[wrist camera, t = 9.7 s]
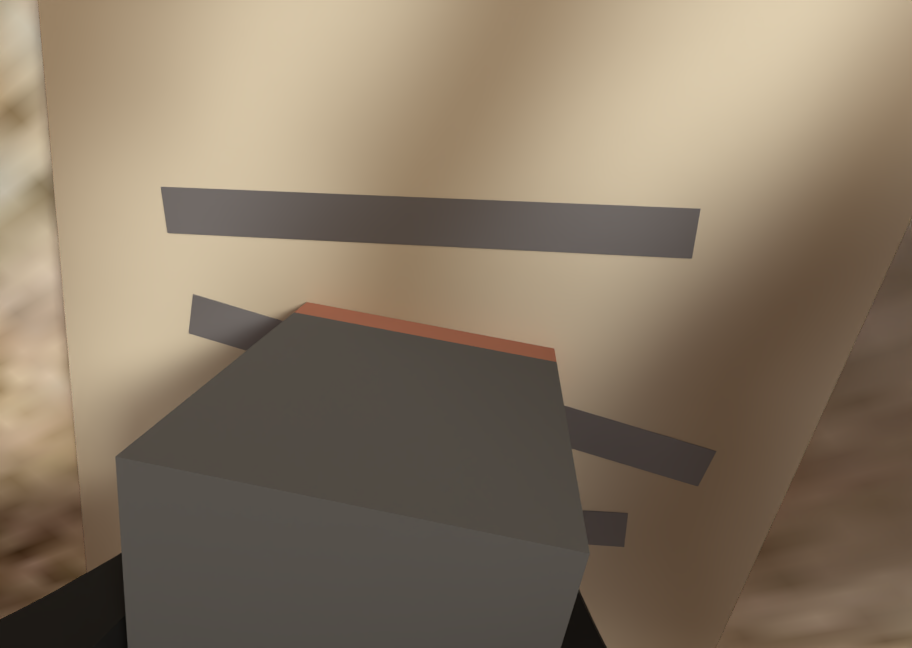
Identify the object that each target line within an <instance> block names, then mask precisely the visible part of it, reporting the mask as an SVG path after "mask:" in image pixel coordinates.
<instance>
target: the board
mask: <svg viewBox="0 0 912 648" xmlns="http://www.w3.org/2000/svg"><path fill="white" fill-rule="evenodd" d="M38 8H39V19H40V31H41V43H42V55H43V66H44V78H45V90H46V101H47V113H48V125H49V137H50V148H51V160H52V172H53V183H54V195H55V207H56V219H57V230H58V242H59V254H60V265H61V277H62V289H63V301H64V312H65V324H66V336H67V347H68V359H69V371H70V383H71V394H72V406H73V418H74V429H75V441H76V453H77V465H78V476H79V488H80V500H81V511H82V523H83V535H84V546H85V558H86V570H87V572H89V571H91V570H93V569H94V568H96V567H98V566H99V565H101V564H103V563H105V562H106V561H108V560H110V559H112V558H113V557H115V556H117V555H118V554H120V553H122V551H121V536H120V521H119V505H118V490H117V475H116V460H115V456H117V455H118V454H119V453H120V452H122V451H123V450H124V449H125V448H127V447H128V446H129V445H130V444H132V443H133V442H134V441H135V440H136V439H138V438H139V437H140V436H141V435H143V434H144V433H145V432H146V431H148V430H149V429H150V428H151V427H153V426H154V425H155V424H156V423H158V422H159V421H160V420H161V419H162V418H164V417H165V416H166V415H167V414H169V413H170V412H171V411H172V410H174V409H175V408H176V407H177V406H179V405H180V404H181V403H182V402H184V401H185V400H186V399H187V398H189V397H190V396H191V395H192V394H193V393H195V392H196V391H197V390H198V389H200V388H201V387H202V386H203V385H205V384H206V383H207V382H208V381H210V380H211V379H212V378H213V377H215V376H216V375H217V374H218V373H220V372H221V371H222V370H223V369H224V368H226V367H227V366H228V365H229V364H231V363H232V362H233V361H234V360H236V359H237V358H238V357H239V356H241V355H242V354H243V353H244V352H246V351H247V350H248V349H249V348H250V347H252V346H253V345H254V344H255V343H257V342H258V341H259V340H260V339H262V338H263V337H264V336H265V335H267V334H268V333H269V332H270V331H272V330H273V329H274V328H275V327H277V326H278V325H279V324H280V323H281V322H283V321H284V320H285V319H286V318H288V317H289V316H290V315H291V314H293V313H294V312H295V311H296V310H298V309H299V308H300V307H301V306H303V305H304V304H305V303H306V302H310V303H315V304H320V305H326V306H331V307H336V308H342V309H347V310H352V311H358V312H363V313H368V314H374V315H379V316H384V317H389V318H395V319H400V320H405V321H411V322H416V323H421V324H427V325H432V326H437V327H443V328H448V329H453V330H458V331H464V332H469V333H474V334H480V335H485V336H490V337H496V338H501V339H506V340H512V341H517V342H522V343H528V344H533V345H538V346H543V347H549V348H554V350H555V356H556V361H557V367H558V373H559V379H560V384H561V390H562V396H563V402H564V407H565V413H566V419H567V425H568V431H569V436H570V442H571V448H572V454H573V459H574V465H575V471H576V477H577V482H578V488H579V494H580V500H581V506H582V511H583V517H584V523H585V529H586V534H587V540H588V546H589V552H590V555H589V558H588V561H587V565H586V568H585V571H584V574H583V577H582V581H581V584H580V587H579V590H580V592H581V595H582V597H583V599H584V601H585V603H586V605H587V608H588V610H589V612H590V614H591V616H592V618H593V620H594V623H595V625H596V627H597V629H598V631H599V633H600V635H601V637H602V639H603V641H604V643H605V645H606V647H607V648H716V646H717V644H718V642H719V640H720V637H721V635H722V633H723V631H724V629H725V626H726V624H727V622H728V620H729V618H730V615H731V613H732V611H733V609H734V607H735V604H736V602H737V600H738V598H739V596H740V594H741V591H742V589H743V587H744V585H745V583H746V580H747V578H748V576H749V574H750V572H751V569H752V567H753V565H754V563H755V561H756V558H757V556H758V554H759V552H760V550H761V547H762V545H763V543H764V541H765V539H766V536H767V534H768V532H769V530H770V528H771V526H772V523H773V521H774V519H775V517H776V515H777V512H778V510H779V508H780V506H781V504H782V501H783V499H784V497H785V495H786V493H787V490H788V488H789V486H790V484H791V482H792V479H793V477H794V475H795V473H796V471H797V468H798V466H799V464H800V462H801V460H802V458H803V455H804V453H805V451H806V449H807V447H808V444H809V442H810V440H811V438H812V436H813V433H814V431H815V429H816V427H817V425H818V422H819V420H820V418H821V416H822V414H823V411H824V409H825V407H826V405H827V403H828V400H829V398H830V396H831V394H832V392H833V390H834V387H835V385H836V383H837V381H838V379H839V376H840V374H841V372H842V370H843V368H844V365H845V363H846V361H847V359H848V357H849V354H850V352H851V350H852V348H853V346H854V343H855V341H856V339H857V337H858V335H859V332H860V330H861V328H862V326H863V324H864V322H865V319H866V317H867V315H868V313H869V311H870V308H871V306H872V304H873V302H874V300H875V297H876V295H877V293H878V291H879V289H880V286H881V284H882V282H883V280H884V278H885V275H886V273H887V271H888V269H889V267H890V264H891V262H892V260H893V258H894V256H895V254H896V251H897V249H898V247H899V245H900V243H901V240H902V238H903V236H904V234H905V232H906V229H907V227H908V225H909V223H910V221H911V218H912V0H38Z"/></svg>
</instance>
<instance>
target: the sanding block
mask: <svg viewBox="0 0 912 648" xmlns="http://www.w3.org/2000/svg"><path fill="white" fill-rule="evenodd" d="M115 460H116V475H117V490H118V505H119V521H120V536H121V551H122V566H123V582H124V597H125V612H126V627H127V643H128V648H561V645H562V642H563V639H564V636H565V632H566V629H567V626H568V623H569V619H570V616H571V613H572V610H573V607H574V603H575V600H576V597H577V594H578V590H579V587H580V584H581V581H582V577H583V574H584V571H585V568H586V565H587V561H588V558H589V555H590V552H589V546H588V540H587V534H586V529H585V523H584V517H583V511H582V506H581V500H580V494H579V488H578V482H577V477H576V471H575V465H574V459H573V454H572V448H571V442H570V436H569V431H568V425H567V419H566V413H565V407H564V402H563V396H562V390H561V384H560V379H559V373H558V367H557V361H556V356H555V350H554V348H549V347H543V346H538V345H533V344H528V343H522V342H517V341H512V340H506V339H501V338H496V337H490V336H485V335H480V334H474V333H469V332H464V331H458V330H453V329H448V328H443V327H437V326H432V325H427V324H421V323H416V322H411V321H405V320H400V319H395V318H389V317H384V316H379V315H374V314H368V313H363V312H358V311H352V310H347V309H342V308H336V307H331V306H326V305H320V304H315V303H310V302H306V303H305V304H304V305H303V306H301V307H300V308H299V309H298V310H296V311H295V312H294V313H293V314H291V315H290V316H289V317H288V318H286V319H285V320H284V321H283V322H281V323H280V324H279V325H278V326H277V327H275V328H274V329H273V330H272V331H270V332H269V333H268V334H267V335H265V336H264V337H263V338H262V339H260V340H259V341H258V342H257V343H255V344H254V345H253V346H252V347H250V348H249V349H248V350H247V351H246V352H244V353H243V354H242V355H241V356H239V357H238V358H237V359H236V360H234V361H233V362H232V363H231V364H229V365H228V366H227V367H226V368H224V369H223V370H222V371H221V372H220V373H218V374H217V375H216V376H215V377H213V378H212V379H211V380H210V381H208V382H207V383H206V384H205V385H203V386H202V387H201V388H200V389H198V390H197V391H196V392H195V393H193V394H192V395H191V396H190V397H189V398H187V399H186V400H185V401H184V402H182V403H181V404H180V405H179V406H177V407H176V408H175V409H174V410H172V411H171V412H170V413H169V414H167V415H166V416H165V417H164V418H162V419H161V420H160V421H159V422H158V423H156V424H155V425H154V426H153V427H151V428H150V429H149V430H148V431H146V432H145V433H144V434H143V435H141V436H140V437H139V438H138V439H136V440H135V441H134V442H133V443H132V444H130V445H129V446H128V447H127V448H125V449H124V450H123V451H122V452H120V453H119V454H118V455H117V456H115Z"/></svg>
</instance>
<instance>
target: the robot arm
mask: <svg viewBox="0 0 912 648" xmlns="http://www.w3.org/2000/svg"><path fill="white" fill-rule="evenodd" d="M0 648H128V643H127V627H126V612H125V597H124V582H123V566H122V553H120V554H118V555H117V556H115V557H113V558H112V559H110V560H108V561H106V562H105V563H103V564H101V565H99V566H98V567H96V568H94V569H93V570H91V571H89V572H87V573H86V574H84V575H82V576H80V577H79V578H77V579H75V580H74V581H72V582H70V583H68V584H67V585H65V586H63V587H61V588H60V589H58V590H56V591H54V592H52V593H50V594H49V595H47V596H45V597H43V598H41V599H39V600H37V601H35V602H34V603H32V604H30V605H28V606H26V607H24V608H22V609H20V610H18V611H16V612H14V613H12V614H10V615H8V616H6V617H4V618H2V619H0ZM561 648H607V647H606V645H605V643H604V641H603V639H602V637H601V635H600V633H599V631H598V629H597V627H596V625H595V623H594V620H593V618H592V616H591V614H590V612H589V610H588V608H587V605H586V603H585V601H584V599H583V597H582V595H581V592H580V590H578V594H577V597H576V600H575V603H574V607H573V610H572V613H571V616H570V619H569V623H568V626H567V629H566V632H565V636H564V639H563V642H562V645H561Z"/></svg>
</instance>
